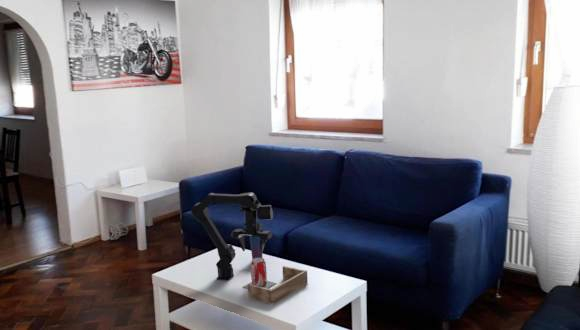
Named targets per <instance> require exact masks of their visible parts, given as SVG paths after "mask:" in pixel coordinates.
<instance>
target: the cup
mask: <svg viewBox="0 0 580 330" xmlns="http://www.w3.org/2000/svg"><path fill="white" fill-rule="evenodd" d="M261 232H262V231H259V232H258V233H261ZM248 237H249V243H250V251H251V258H252V259H254V258H263V252H262V253H261V251H260V242H259V240H260V237H256V236H248ZM252 259H251V260H252Z"/></svg>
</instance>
